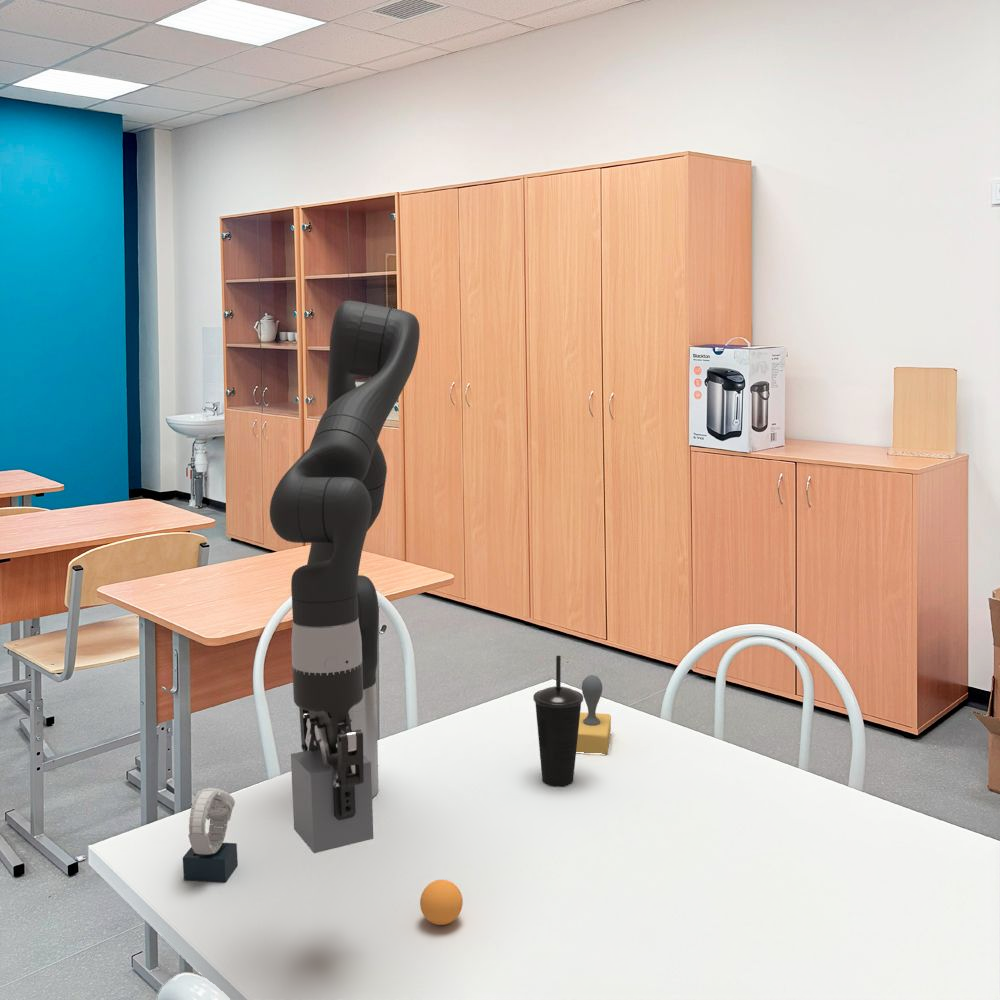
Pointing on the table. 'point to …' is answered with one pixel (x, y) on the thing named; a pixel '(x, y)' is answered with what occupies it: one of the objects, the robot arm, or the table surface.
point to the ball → (441, 902)
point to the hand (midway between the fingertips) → (332, 804)
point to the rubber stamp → (593, 720)
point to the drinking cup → (558, 730)
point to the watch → (210, 838)
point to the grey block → (327, 804)
